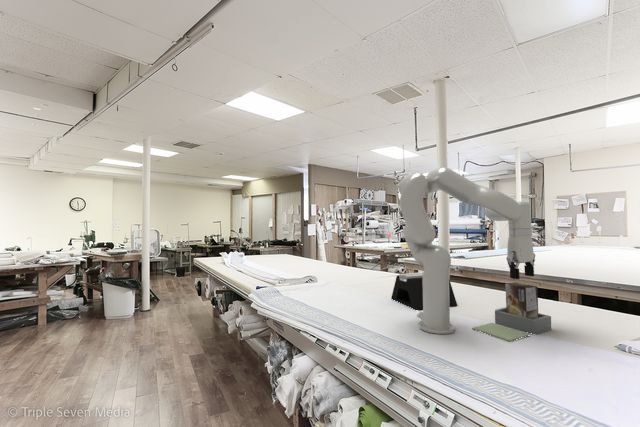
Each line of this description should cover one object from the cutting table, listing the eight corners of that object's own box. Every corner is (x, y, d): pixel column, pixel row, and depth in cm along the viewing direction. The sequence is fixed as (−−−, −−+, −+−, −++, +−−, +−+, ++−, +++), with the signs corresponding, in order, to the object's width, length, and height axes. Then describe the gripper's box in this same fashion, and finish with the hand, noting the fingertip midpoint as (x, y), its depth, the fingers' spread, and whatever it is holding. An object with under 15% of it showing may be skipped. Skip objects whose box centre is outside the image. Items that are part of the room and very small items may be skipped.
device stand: (391, 299, 161) (391, 271, 161) (427, 296, 168) (426, 269, 168) (417, 311, 139) (416, 278, 140) (457, 307, 146) (456, 275, 147)
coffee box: (540, 329, 114) (538, 286, 115) (527, 331, 112) (526, 287, 113) (517, 321, 123) (516, 282, 123) (505, 323, 121) (504, 283, 121)
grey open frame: (495, 323, 121) (494, 308, 121) (512, 319, 127) (511, 304, 127) (534, 334, 109) (533, 318, 109) (551, 329, 114) (550, 313, 114)
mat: (472, 329, 115) (472, 327, 115) (492, 324, 120) (492, 322, 120) (509, 342, 102) (509, 340, 102) (530, 335, 108) (529, 334, 108)
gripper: (522, 232, 126) (524, 273, 125) (497, 234, 118) (499, 278, 118) (542, 232, 119) (545, 276, 119) (517, 234, 111) (519, 281, 111)
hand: (522, 277), depth 118 cm, fingers open, 9 cm apart
